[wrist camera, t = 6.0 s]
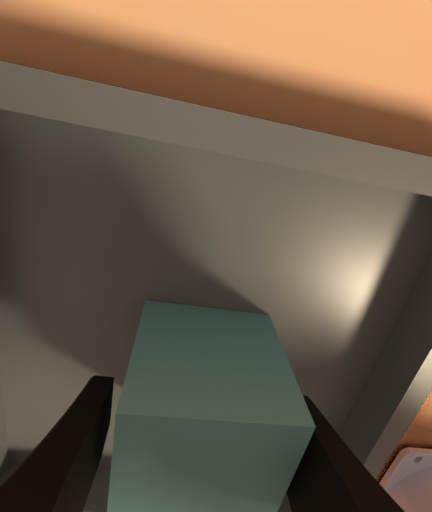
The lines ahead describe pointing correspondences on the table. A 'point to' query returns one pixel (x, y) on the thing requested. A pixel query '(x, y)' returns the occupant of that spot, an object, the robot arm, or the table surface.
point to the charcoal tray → (204, 254)
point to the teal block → (206, 415)
